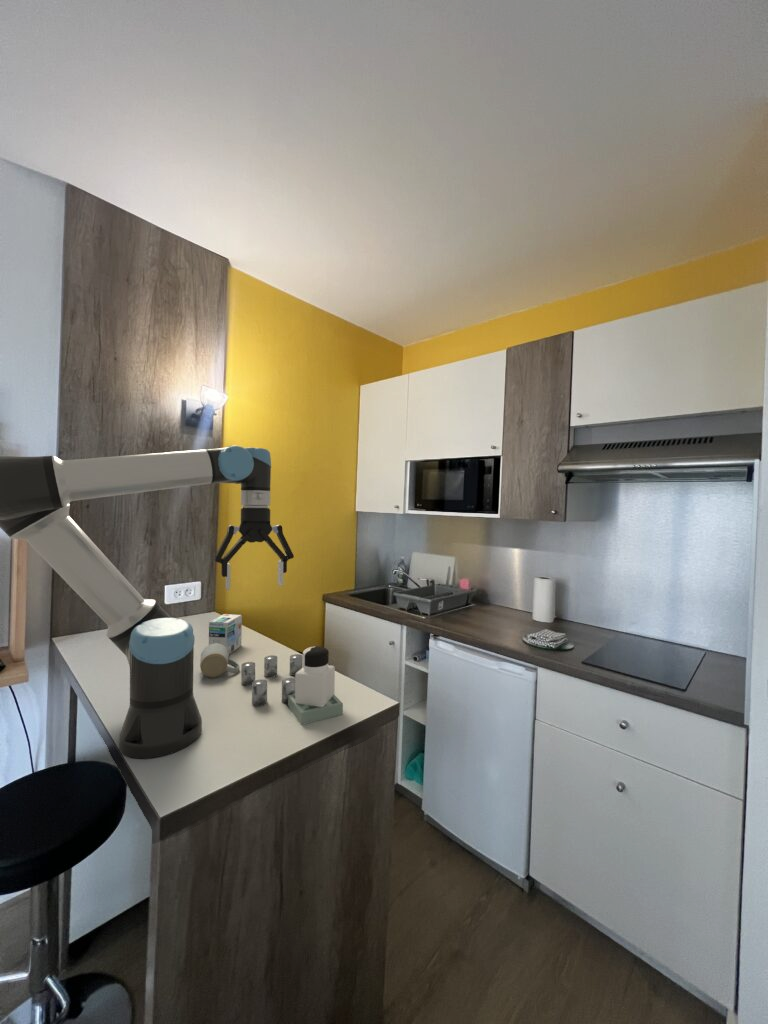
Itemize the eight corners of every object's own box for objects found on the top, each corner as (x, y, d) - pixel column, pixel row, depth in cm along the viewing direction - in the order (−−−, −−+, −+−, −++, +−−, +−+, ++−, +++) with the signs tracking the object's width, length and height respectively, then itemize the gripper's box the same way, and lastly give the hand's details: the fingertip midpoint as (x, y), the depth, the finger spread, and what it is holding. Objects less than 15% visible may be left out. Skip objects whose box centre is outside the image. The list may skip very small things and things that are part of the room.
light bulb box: (227, 656, 135) (227, 622, 135) (207, 655, 136) (207, 621, 136) (242, 645, 146) (242, 614, 145) (223, 644, 146) (224, 613, 146)
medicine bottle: (334, 694, 102) (335, 645, 102) (323, 708, 95) (323, 655, 95) (308, 691, 104) (308, 642, 104) (294, 703, 97) (295, 652, 97)
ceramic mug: (199, 680, 116) (200, 653, 115) (200, 670, 123) (201, 643, 123) (240, 676, 119) (240, 649, 119) (238, 666, 127) (239, 640, 127)
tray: (301, 724, 93) (301, 713, 93) (288, 705, 102) (288, 695, 102) (342, 714, 98) (342, 703, 98) (326, 697, 107) (326, 687, 107)
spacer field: (255, 711, 99) (255, 690, 99) (238, 678, 117) (238, 660, 117) (323, 696, 107) (324, 677, 107) (297, 667, 126) (297, 651, 126)
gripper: (206, 506, 102) (205, 593, 102) (305, 507, 114) (304, 585, 114) (203, 506, 109) (202, 588, 109) (297, 507, 121) (296, 581, 121)
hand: (254, 587), depth 112 cm, fingers open, 13 cm apart
